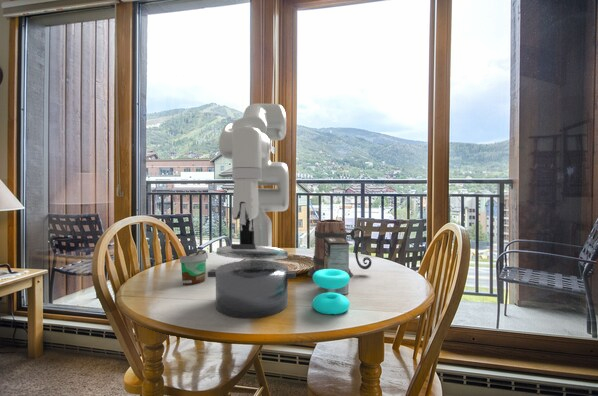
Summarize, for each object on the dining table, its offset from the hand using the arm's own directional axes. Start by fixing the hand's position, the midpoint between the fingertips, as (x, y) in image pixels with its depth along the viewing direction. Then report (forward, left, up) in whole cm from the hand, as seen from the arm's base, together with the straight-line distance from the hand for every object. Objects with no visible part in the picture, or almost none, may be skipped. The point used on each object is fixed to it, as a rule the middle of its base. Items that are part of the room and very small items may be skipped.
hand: (247, 245), depth 86 cm
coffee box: (-20, +24, -18) cm, 36 cm away
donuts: (-4, +22, -18) cm, 29 cm away
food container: (-25, -23, -18) cm, 38 cm away
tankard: (-38, +26, -18) cm, 49 cm away
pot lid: (-6, 0, -4) cm, 7 cm away
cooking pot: (-6, 0, -18) cm, 19 cm away
